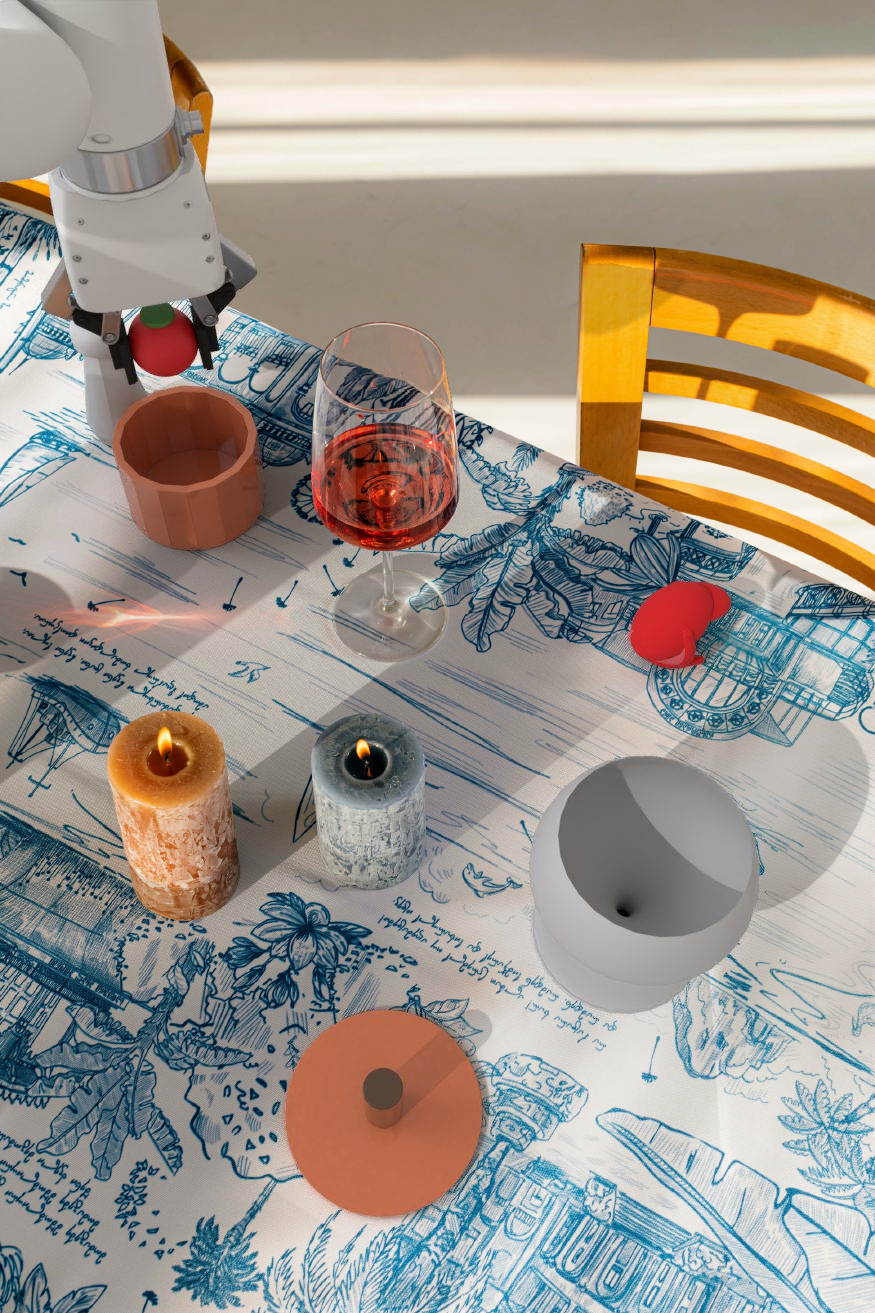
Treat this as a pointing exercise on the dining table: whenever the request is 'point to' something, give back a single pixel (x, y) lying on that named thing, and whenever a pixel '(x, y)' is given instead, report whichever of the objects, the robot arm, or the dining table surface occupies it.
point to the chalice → (639, 882)
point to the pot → (190, 466)
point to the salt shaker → (103, 384)
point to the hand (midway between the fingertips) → (168, 362)
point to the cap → (676, 622)
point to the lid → (383, 1113)
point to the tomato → (163, 340)
